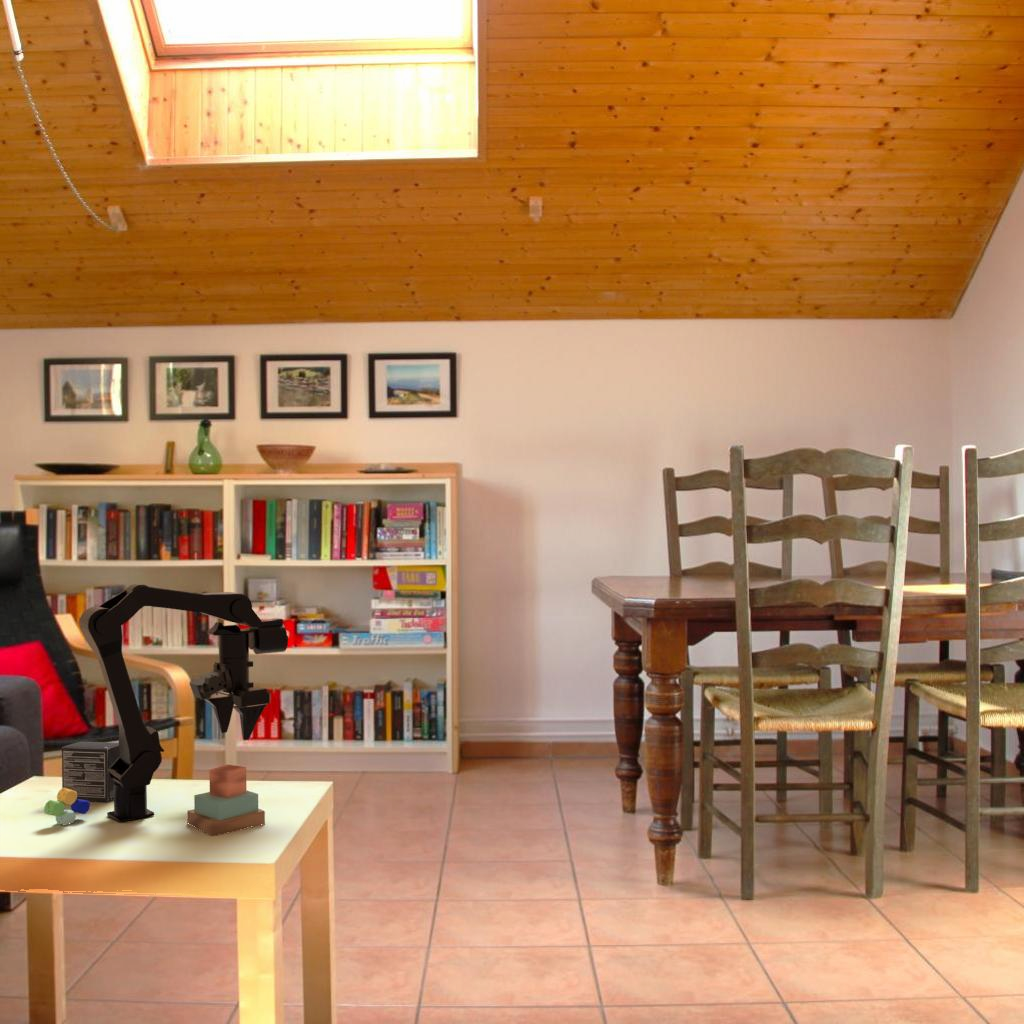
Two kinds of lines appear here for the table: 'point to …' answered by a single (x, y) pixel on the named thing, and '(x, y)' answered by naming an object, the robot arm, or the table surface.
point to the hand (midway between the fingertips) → (234, 736)
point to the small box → (89, 769)
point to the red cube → (227, 781)
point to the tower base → (225, 822)
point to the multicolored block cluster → (58, 807)
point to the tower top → (225, 805)
